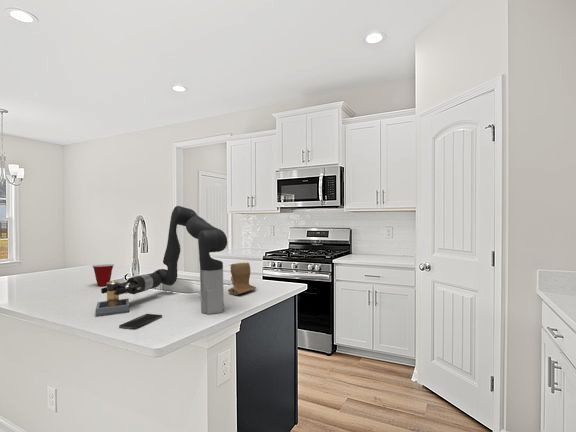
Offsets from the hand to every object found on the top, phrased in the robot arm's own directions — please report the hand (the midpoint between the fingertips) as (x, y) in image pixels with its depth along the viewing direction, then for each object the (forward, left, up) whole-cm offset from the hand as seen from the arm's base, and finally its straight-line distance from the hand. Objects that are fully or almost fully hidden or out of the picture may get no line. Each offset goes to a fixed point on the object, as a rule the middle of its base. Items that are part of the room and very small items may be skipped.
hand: (109, 291), depth 143 cm
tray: (+1, -1, -8) cm, 8 cm away
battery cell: (+1, -1, -7) cm, 8 cm away
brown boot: (+6, -58, -9) cm, 59 cm away
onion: (+26, -63, -9) cm, 69 cm away
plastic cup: (+59, +5, -8) cm, 60 cm away
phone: (-21, -11, -9) cm, 25 cm away
